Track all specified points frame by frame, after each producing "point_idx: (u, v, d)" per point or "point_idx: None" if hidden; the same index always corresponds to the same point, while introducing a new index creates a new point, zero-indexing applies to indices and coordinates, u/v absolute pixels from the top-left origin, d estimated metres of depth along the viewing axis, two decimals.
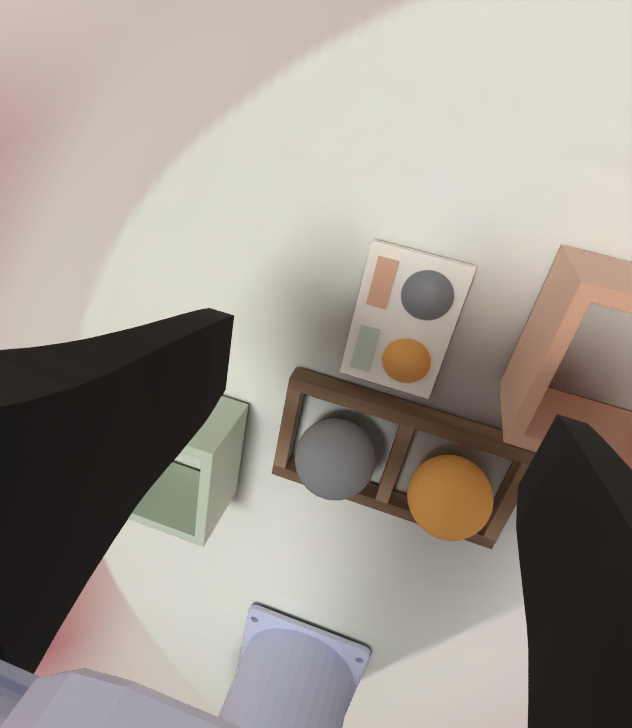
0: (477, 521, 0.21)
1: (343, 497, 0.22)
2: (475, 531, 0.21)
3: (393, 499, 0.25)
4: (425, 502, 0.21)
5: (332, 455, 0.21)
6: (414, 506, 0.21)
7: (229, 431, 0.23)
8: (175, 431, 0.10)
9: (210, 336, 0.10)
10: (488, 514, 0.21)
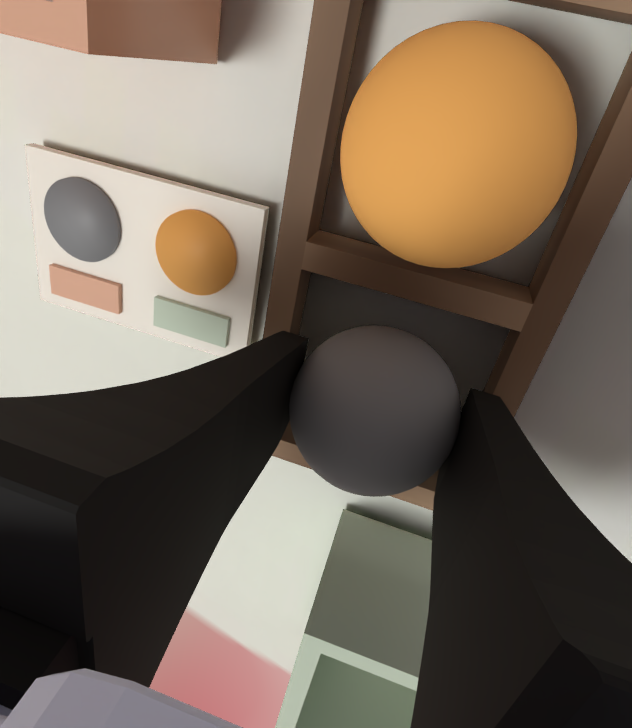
0: (445, 70, 0.07)
1: (408, 425, 0.09)
2: (494, 70, 0.07)
3: (535, 286, 0.10)
4: (394, 232, 0.08)
5: (300, 428, 0.10)
6: (429, 258, 0.08)
7: (324, 571, 0.13)
8: (255, 460, 0.10)
9: (291, 361, 0.10)
10: (451, 34, 0.07)
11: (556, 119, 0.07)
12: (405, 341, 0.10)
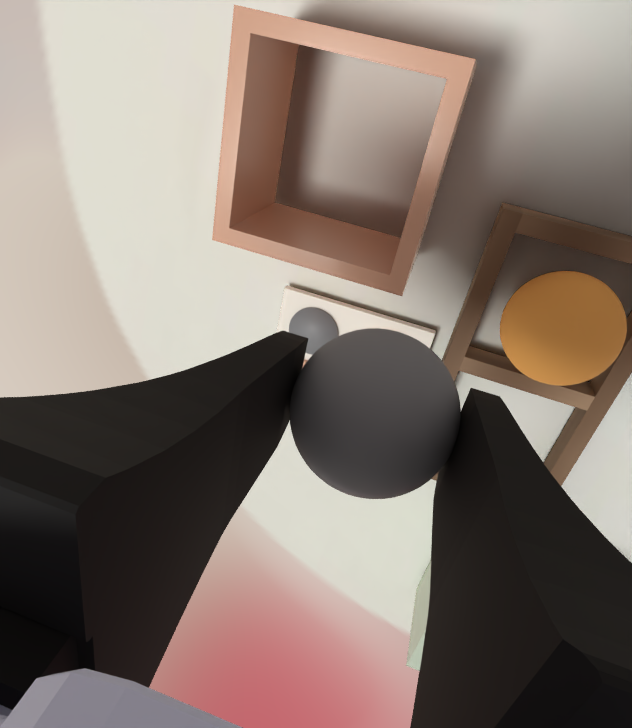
0: (569, 310, 0.15)
1: (409, 427, 0.09)
2: (592, 311, 0.14)
3: (595, 385, 0.18)
4: (535, 372, 0.16)
5: (301, 431, 0.10)
6: (550, 383, 0.16)
7: None
8: (255, 459, 0.10)
9: (291, 361, 0.10)
10: (571, 289, 0.15)
11: (619, 329, 0.15)
12: (405, 344, 0.10)
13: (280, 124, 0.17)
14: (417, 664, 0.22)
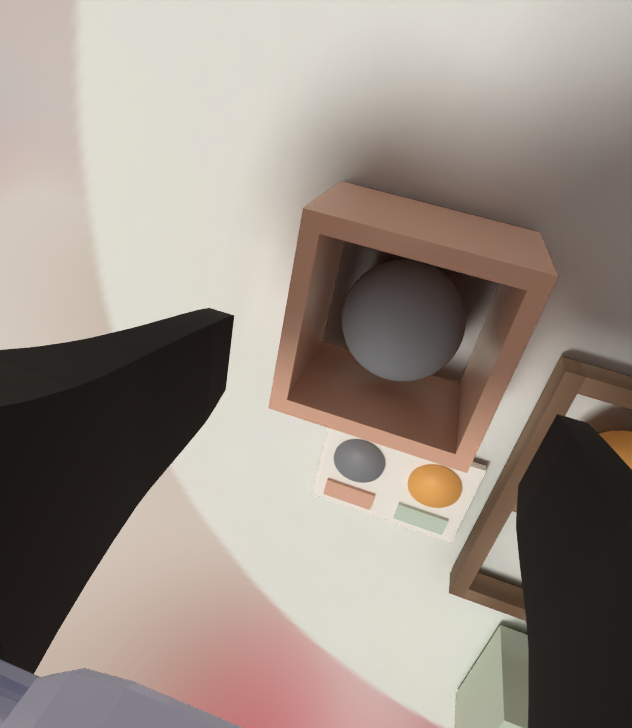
0: None
1: (431, 319, 0.13)
2: None
3: None
4: None
5: (353, 328, 0.14)
6: None
7: (502, 674, 0.21)
8: (174, 432, 0.10)
9: (210, 336, 0.10)
10: None
11: None
12: (426, 266, 0.14)
13: (333, 278, 0.16)
14: None
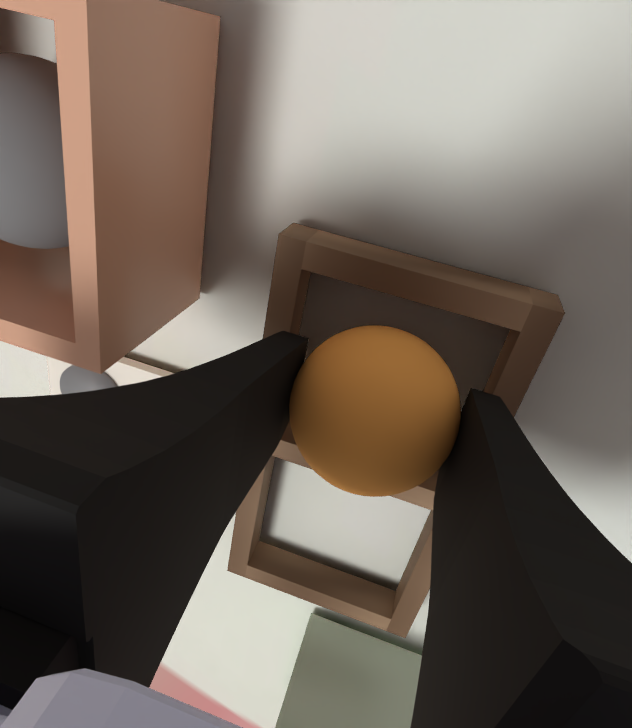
0: (354, 395, 0.09)
1: (10, 122, 0.09)
2: (388, 398, 0.09)
3: None
4: (327, 480, 0.10)
5: None
6: (354, 493, 0.11)
7: (291, 677, 0.16)
8: (255, 459, 0.10)
9: (291, 361, 0.10)
10: (361, 361, 0.10)
11: (436, 422, 0.10)
12: (34, 57, 0.09)
13: None
14: None
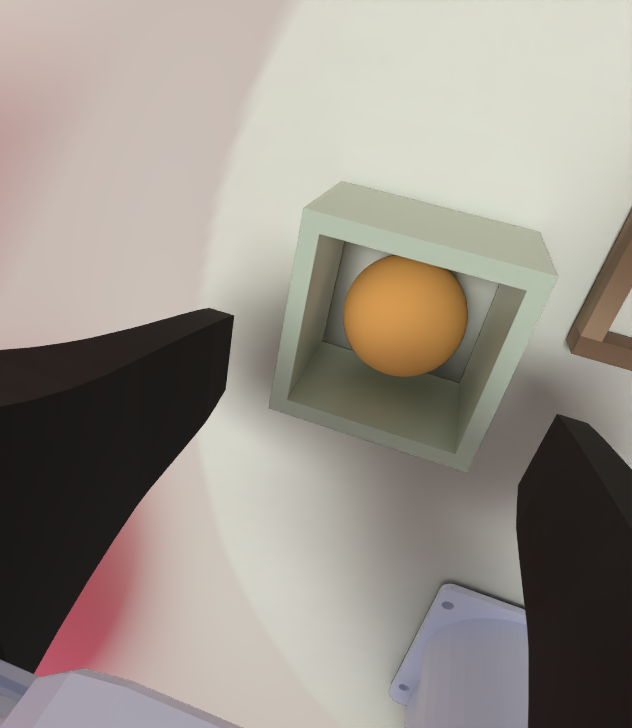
0: (396, 294, 0.13)
1: None
2: (420, 296, 0.13)
3: None
4: (371, 362, 0.15)
5: None
6: (389, 374, 0.15)
7: (548, 255, 0.13)
8: (175, 432, 0.10)
9: (210, 336, 0.10)
10: (401, 272, 0.14)
11: (451, 316, 0.14)
12: None
13: None
14: (315, 228, 0.12)
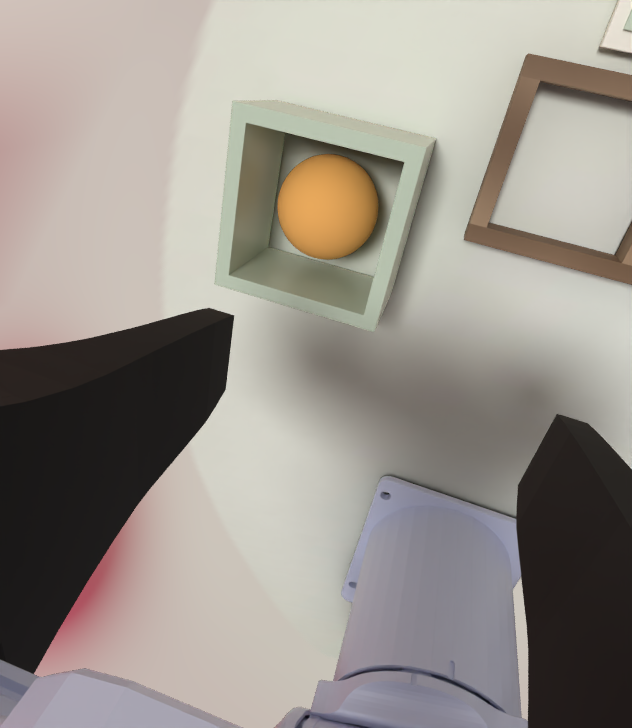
0: (315, 179, 0.17)
1: None
2: (334, 180, 0.17)
3: None
4: (299, 242, 0.18)
5: None
6: (315, 254, 0.18)
7: (430, 144, 0.16)
8: (175, 431, 0.10)
9: (209, 336, 0.10)
10: (320, 163, 0.17)
11: (361, 199, 0.17)
12: None
13: None
14: (242, 117, 0.16)
